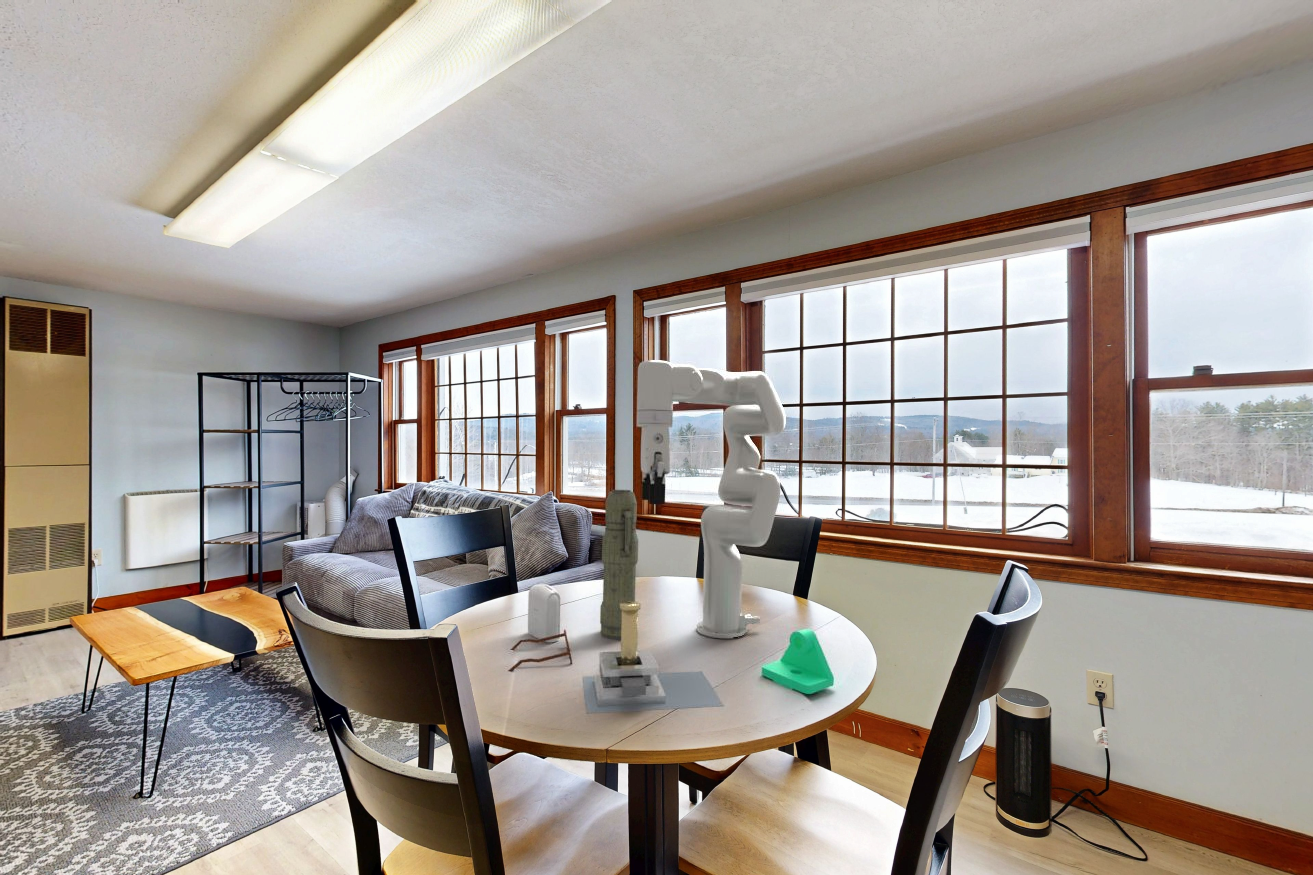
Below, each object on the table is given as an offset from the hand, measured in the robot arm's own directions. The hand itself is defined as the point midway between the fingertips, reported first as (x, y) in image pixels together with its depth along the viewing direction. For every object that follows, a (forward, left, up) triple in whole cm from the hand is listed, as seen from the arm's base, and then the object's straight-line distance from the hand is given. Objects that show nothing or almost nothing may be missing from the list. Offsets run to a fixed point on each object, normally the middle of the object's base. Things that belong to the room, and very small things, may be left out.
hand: (652, 501), depth 123 cm
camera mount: (-27, +12, -35) cm, 46 cm away
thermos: (+4, -23, -34) cm, 42 cm away
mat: (+2, +13, -34) cm, 37 cm away
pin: (+6, +13, -32) cm, 35 cm away
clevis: (+6, +14, -34) cm, 37 cm away
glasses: (+22, -8, -35) cm, 42 cm away
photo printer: (+22, -22, -34) cm, 46 cm away
